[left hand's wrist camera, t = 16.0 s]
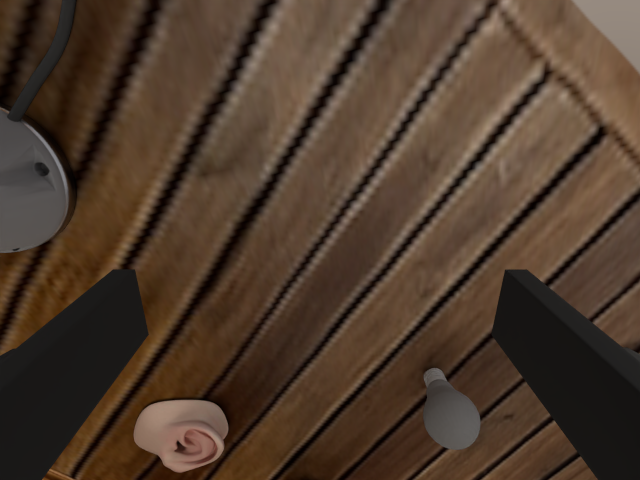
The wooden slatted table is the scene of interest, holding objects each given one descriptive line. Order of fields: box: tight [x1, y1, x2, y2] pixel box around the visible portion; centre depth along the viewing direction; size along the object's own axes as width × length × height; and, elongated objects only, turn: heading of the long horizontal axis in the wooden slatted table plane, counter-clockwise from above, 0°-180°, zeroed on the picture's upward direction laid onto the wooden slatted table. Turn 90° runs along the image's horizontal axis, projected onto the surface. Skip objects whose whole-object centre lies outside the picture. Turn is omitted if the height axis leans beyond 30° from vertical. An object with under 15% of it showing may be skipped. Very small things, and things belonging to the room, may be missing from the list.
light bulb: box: [423, 368, 480, 450], centre depth 41 cm, size 6×6×10 cm
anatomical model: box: [134, 400, 228, 472], centre depth 48 cm, size 13×4×12 cm
